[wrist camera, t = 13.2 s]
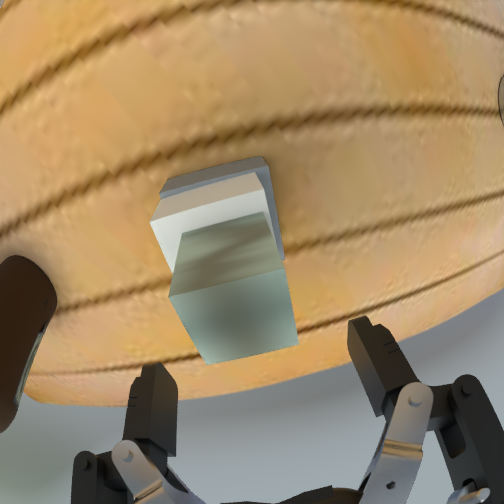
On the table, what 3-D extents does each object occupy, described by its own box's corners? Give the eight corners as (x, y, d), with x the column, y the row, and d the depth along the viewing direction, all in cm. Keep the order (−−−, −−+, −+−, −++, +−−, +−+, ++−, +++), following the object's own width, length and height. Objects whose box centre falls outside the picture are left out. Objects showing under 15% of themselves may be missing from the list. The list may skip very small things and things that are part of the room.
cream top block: (255, 171, 19) (263, 189, 16) (274, 253, 23) (284, 283, 19) (161, 199, 19) (149, 221, 16) (192, 275, 23) (189, 307, 20)
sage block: (262, 211, 16) (284, 268, 11) (277, 277, 19) (298, 344, 14) (181, 233, 17) (168, 297, 11) (207, 295, 19) (206, 365, 14)
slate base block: (260, 155, 22) (268, 165, 19) (275, 237, 27) (284, 259, 23) (167, 178, 22) (159, 193, 19) (194, 256, 27) (191, 281, 23)
